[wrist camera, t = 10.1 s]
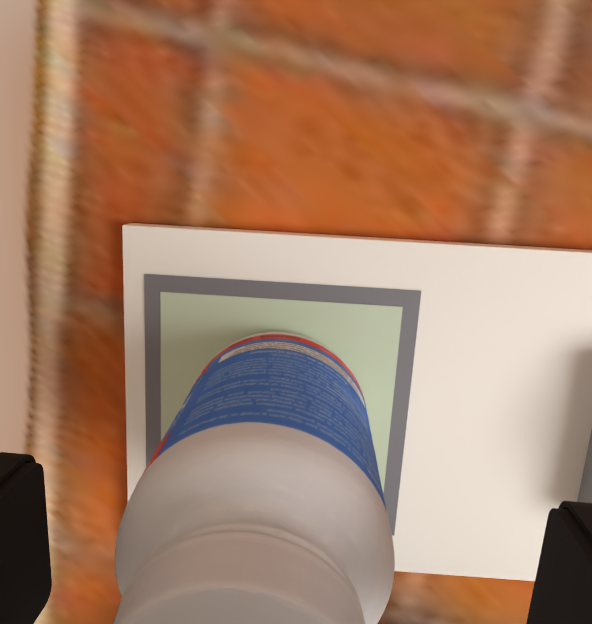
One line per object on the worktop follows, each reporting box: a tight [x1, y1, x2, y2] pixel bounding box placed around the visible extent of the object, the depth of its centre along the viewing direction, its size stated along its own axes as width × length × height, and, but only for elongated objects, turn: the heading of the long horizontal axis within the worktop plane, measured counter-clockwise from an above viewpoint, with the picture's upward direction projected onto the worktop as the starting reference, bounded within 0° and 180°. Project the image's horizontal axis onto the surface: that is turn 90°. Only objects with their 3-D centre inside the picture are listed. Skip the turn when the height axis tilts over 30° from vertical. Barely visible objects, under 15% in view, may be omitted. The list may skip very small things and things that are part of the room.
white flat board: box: [122, 223, 592, 581], centre depth 17 cm, size 11×21×3 cm, turn 87°
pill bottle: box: [113, 332, 395, 624], centre depth 12 cm, size 6×5×10 cm
